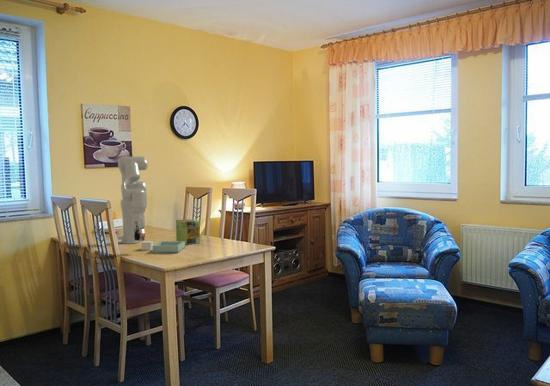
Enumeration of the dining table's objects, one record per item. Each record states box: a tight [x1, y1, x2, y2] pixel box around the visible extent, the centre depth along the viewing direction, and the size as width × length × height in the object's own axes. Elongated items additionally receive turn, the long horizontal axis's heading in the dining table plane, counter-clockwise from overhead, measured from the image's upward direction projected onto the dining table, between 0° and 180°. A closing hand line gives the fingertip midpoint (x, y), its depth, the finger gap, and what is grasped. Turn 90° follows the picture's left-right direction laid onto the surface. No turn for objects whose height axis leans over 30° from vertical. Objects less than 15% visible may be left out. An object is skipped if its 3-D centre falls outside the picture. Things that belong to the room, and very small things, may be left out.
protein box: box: [175, 218, 201, 246], centre depth 324 cm, size 10×15×16 cm
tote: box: [152, 240, 186, 254], centre depth 297 cm, size 16×16×4 cm
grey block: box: [140, 240, 155, 251], centre depth 302 cm, size 6×6×5 cm
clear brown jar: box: [134, 227, 146, 242], centre depth 290 cm, size 6×6×7 cm
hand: (139, 238), depth 291 cm, fingers closed on clear brown jar, 6 cm apart
